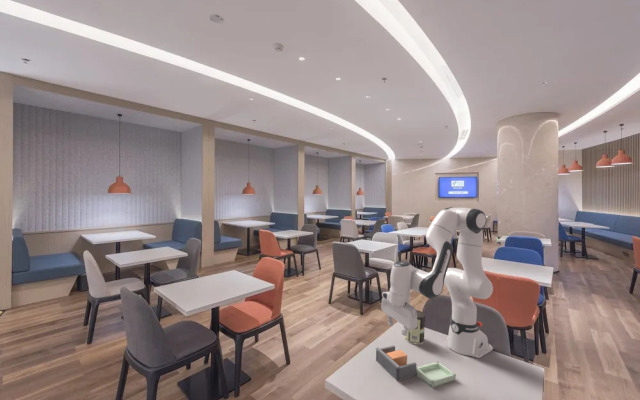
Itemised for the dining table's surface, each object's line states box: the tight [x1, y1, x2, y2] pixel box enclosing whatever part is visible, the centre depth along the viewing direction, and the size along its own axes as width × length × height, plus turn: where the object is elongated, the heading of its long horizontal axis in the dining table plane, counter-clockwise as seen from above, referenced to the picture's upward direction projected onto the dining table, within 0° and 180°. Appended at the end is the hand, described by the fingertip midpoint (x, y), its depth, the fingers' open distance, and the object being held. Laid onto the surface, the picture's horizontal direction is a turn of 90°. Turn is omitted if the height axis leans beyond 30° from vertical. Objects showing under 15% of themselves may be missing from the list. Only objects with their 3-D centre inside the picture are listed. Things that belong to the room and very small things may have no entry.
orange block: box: [386, 349, 408, 366], centre depth 123 cm, size 8×4×6 cm, turn 113°
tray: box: [415, 361, 457, 389], centre depth 117 cm, size 13×10×2 cm
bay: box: [375, 345, 418, 382], centre depth 122 cm, size 10×15×6 cm
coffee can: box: [403, 309, 426, 346], centre depth 147 cm, size 10×10×14 cm
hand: (397, 329), depth 122 cm, fingers open, 8 cm apart
